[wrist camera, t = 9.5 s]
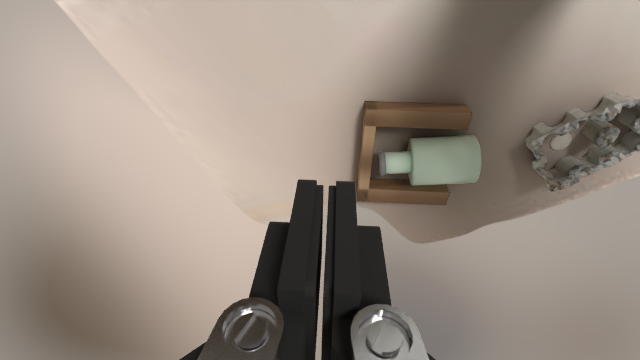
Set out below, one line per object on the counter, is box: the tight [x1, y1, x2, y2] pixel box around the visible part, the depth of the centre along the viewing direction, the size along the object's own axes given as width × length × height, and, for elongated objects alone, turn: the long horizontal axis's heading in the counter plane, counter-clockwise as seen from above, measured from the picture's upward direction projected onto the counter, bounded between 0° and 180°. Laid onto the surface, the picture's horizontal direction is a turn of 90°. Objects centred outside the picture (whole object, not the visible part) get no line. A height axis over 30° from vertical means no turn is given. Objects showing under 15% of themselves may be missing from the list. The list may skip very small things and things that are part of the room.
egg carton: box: [525, 92, 640, 191], centre depth 36 cm, size 11×8×4 cm
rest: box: [357, 101, 472, 205], centre depth 38 cm, size 12×11×2 cm
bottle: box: [378, 135, 482, 186], centre depth 37 cm, size 5×5×10 cm
